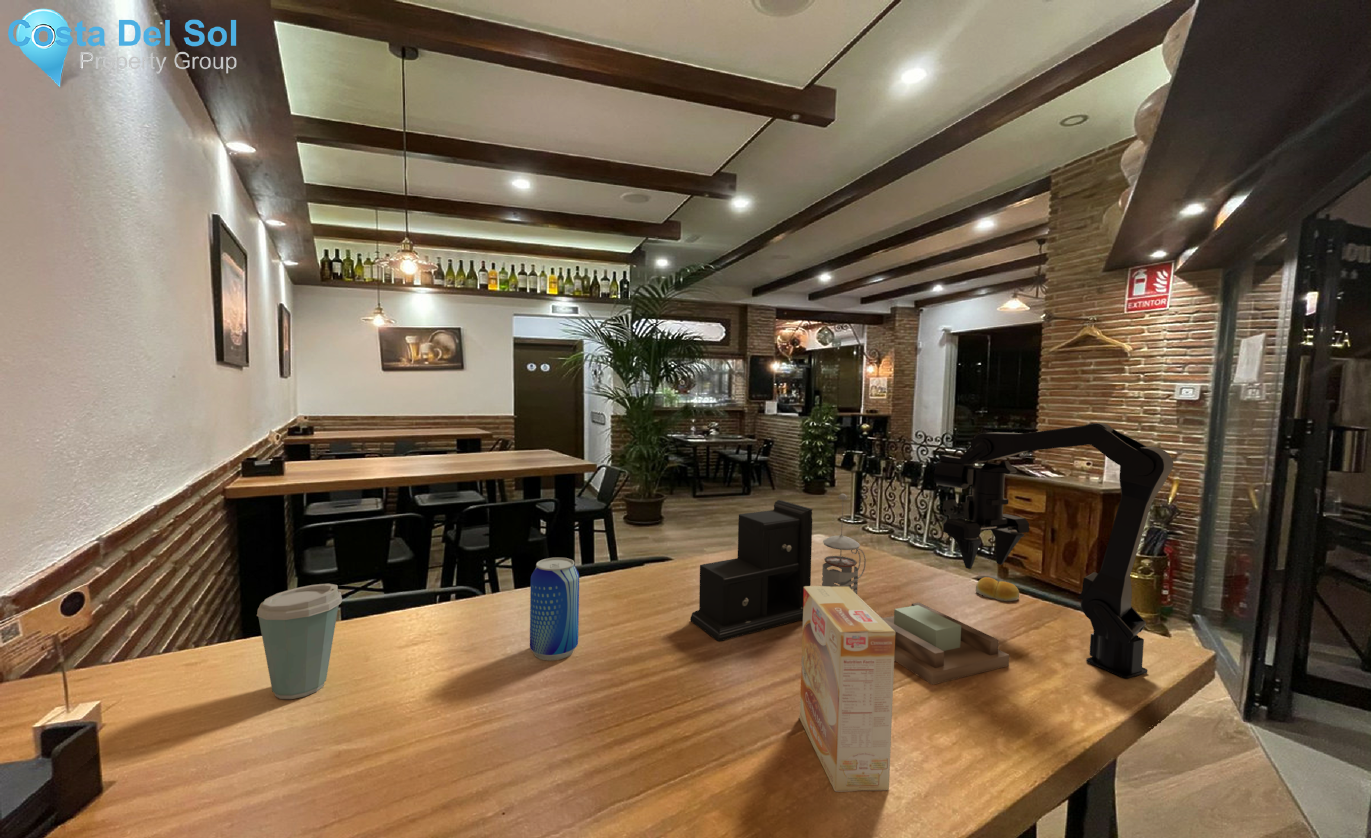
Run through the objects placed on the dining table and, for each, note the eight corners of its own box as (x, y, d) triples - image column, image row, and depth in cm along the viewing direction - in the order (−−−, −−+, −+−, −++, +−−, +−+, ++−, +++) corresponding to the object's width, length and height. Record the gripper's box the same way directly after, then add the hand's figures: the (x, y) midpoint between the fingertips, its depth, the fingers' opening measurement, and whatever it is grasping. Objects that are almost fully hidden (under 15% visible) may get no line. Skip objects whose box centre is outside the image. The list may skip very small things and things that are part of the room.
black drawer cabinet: (718, 642, 101) (721, 519, 100) (689, 621, 110) (692, 508, 109) (811, 619, 113) (815, 508, 112) (777, 601, 122) (781, 499, 121)
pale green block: (960, 647, 97) (961, 625, 97) (935, 652, 95) (936, 630, 94) (917, 624, 106) (917, 605, 106) (893, 629, 104) (894, 609, 104)
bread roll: (1016, 605, 124) (1017, 588, 123) (973, 595, 129) (974, 579, 129) (1021, 595, 130) (1022, 579, 130) (979, 586, 136) (980, 571, 135)
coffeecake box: (797, 717, 78) (801, 585, 77) (845, 716, 78) (850, 585, 78) (832, 793, 63) (838, 630, 62) (891, 791, 64) (898, 630, 63)
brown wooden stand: (1008, 665, 95) (1009, 641, 94) (932, 684, 88) (933, 657, 87) (919, 620, 113) (920, 599, 113) (851, 633, 106) (851, 611, 106)
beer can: (519, 655, 94) (520, 565, 93) (552, 636, 102) (553, 553, 101) (556, 667, 90) (557, 573, 89) (587, 647, 98) (589, 560, 97)
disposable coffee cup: (241, 712, 76) (240, 608, 75) (277, 674, 86) (276, 582, 85) (327, 702, 79) (327, 602, 78) (352, 666, 89) (351, 577, 88)
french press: (807, 597, 125) (811, 491, 123) (846, 591, 129) (850, 488, 128) (836, 613, 116) (840, 499, 114) (877, 606, 120) (881, 495, 119)
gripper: (985, 484, 123) (981, 551, 123) (923, 487, 116) (920, 559, 116) (1032, 493, 112) (1028, 566, 113) (968, 497, 105) (964, 575, 106)
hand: (984, 566), depth 112 cm, fingers open, 9 cm apart
